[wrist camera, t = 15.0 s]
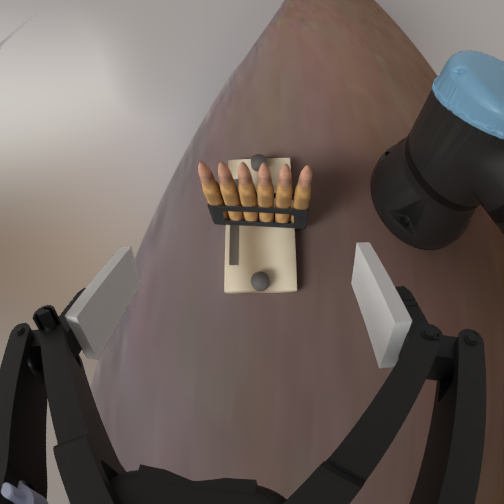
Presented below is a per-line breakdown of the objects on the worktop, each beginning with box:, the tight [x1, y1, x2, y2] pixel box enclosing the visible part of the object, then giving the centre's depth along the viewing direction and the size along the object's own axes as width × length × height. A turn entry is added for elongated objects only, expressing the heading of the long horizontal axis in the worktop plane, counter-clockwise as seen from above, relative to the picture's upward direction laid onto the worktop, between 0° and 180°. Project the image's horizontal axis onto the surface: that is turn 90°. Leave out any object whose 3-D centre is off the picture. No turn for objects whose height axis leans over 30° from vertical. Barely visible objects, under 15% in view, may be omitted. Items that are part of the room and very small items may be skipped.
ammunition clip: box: [198, 161, 312, 229], centre depth 29 cm, size 11×2×12 cm, turn 85°
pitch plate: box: [224, 154, 297, 293], centre depth 35 cm, size 8×17×2 cm, turn 0°
